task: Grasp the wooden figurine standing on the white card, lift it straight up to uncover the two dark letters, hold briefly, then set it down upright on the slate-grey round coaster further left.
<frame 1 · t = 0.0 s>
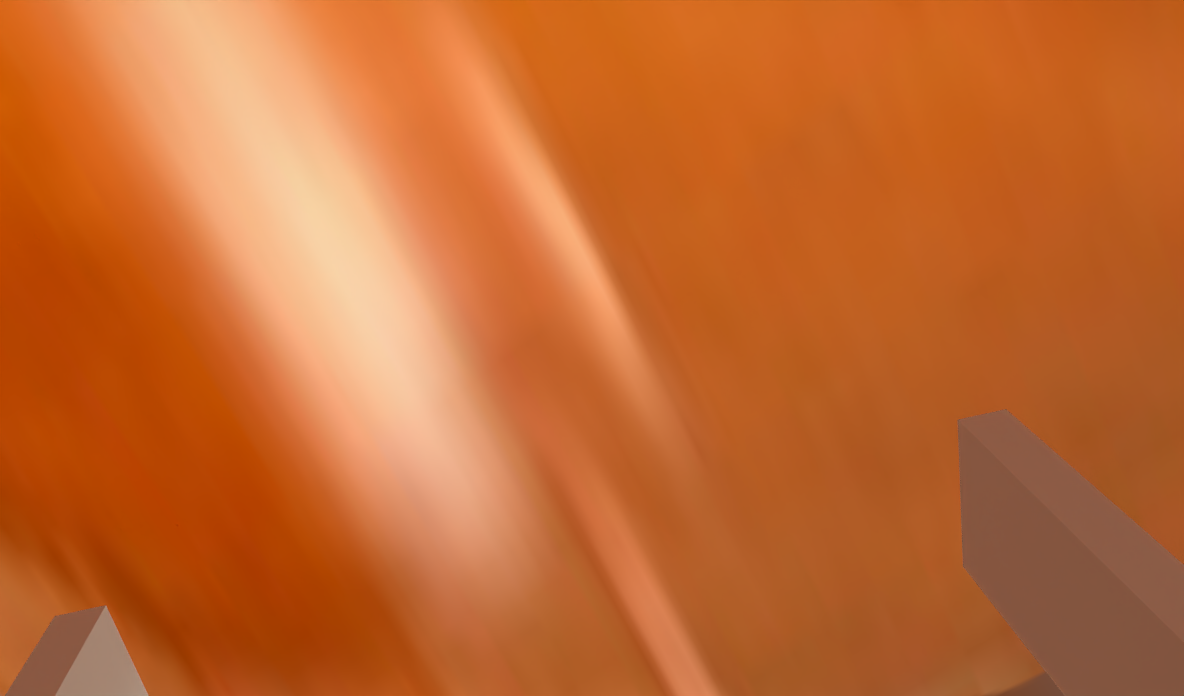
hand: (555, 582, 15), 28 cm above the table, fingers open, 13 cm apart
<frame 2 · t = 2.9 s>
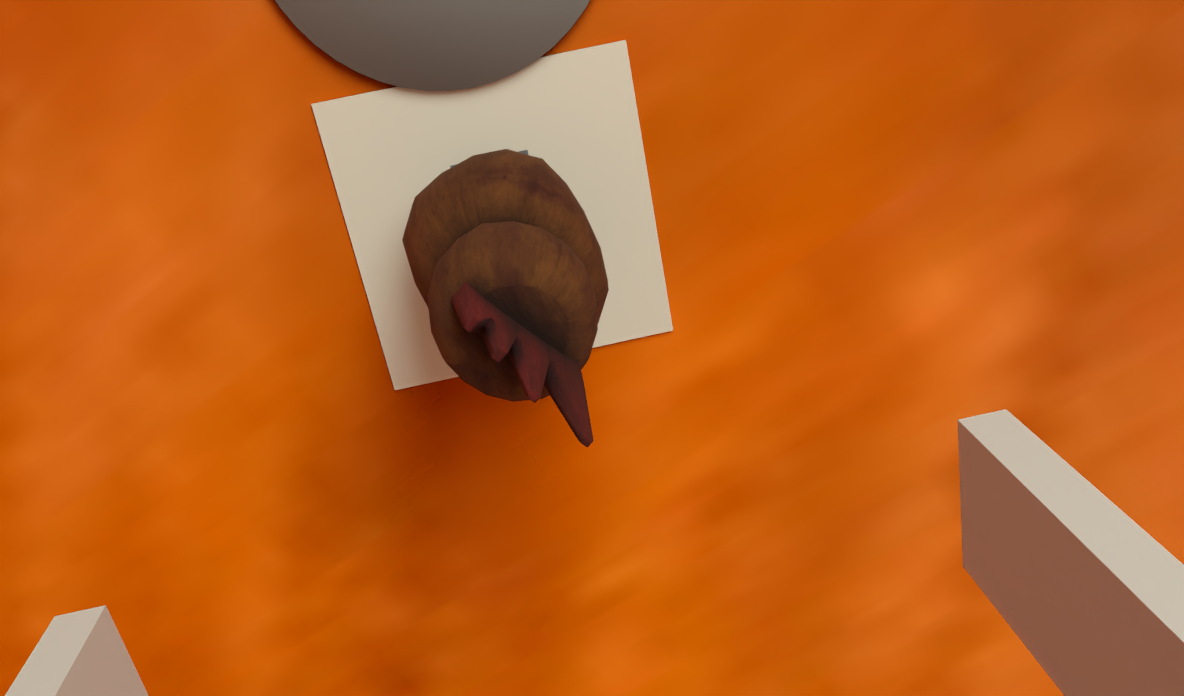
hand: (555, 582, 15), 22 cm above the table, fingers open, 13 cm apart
wooden figurine: (503, 223, 36), resting on white card
white card: (503, 224, 36), on the table
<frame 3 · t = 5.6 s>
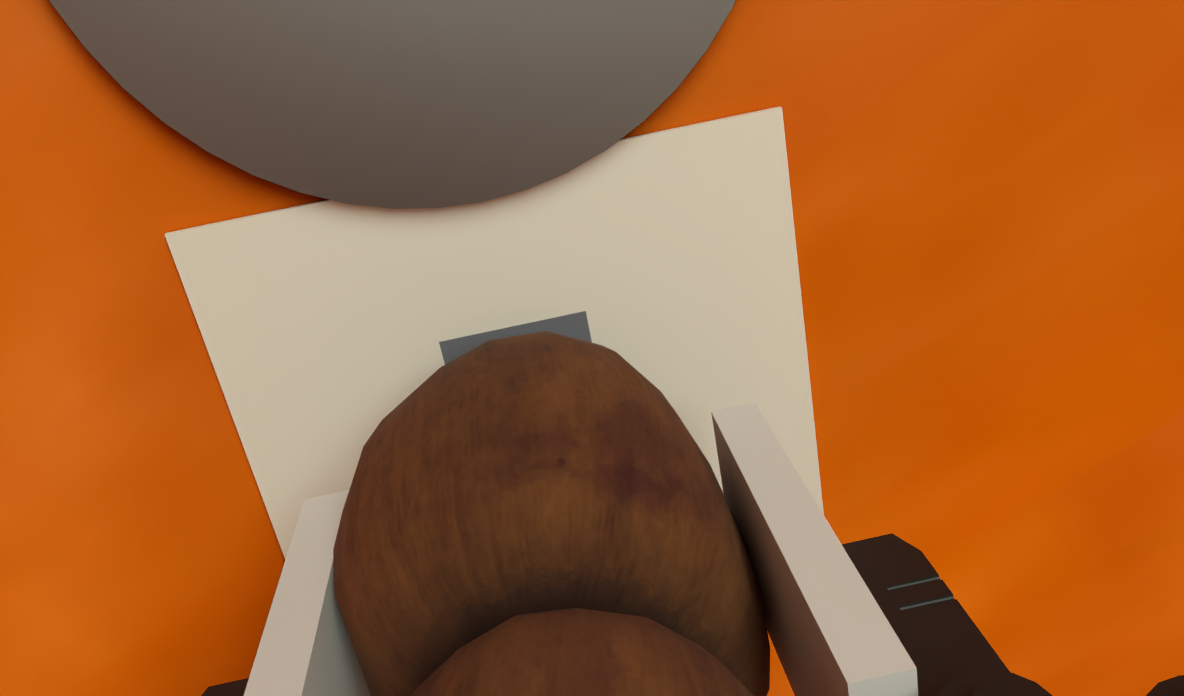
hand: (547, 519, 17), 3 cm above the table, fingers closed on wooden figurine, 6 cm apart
wooden figurine: (538, 437, 19), resting on white card, touching gripper
white card: (538, 439, 19), on the table
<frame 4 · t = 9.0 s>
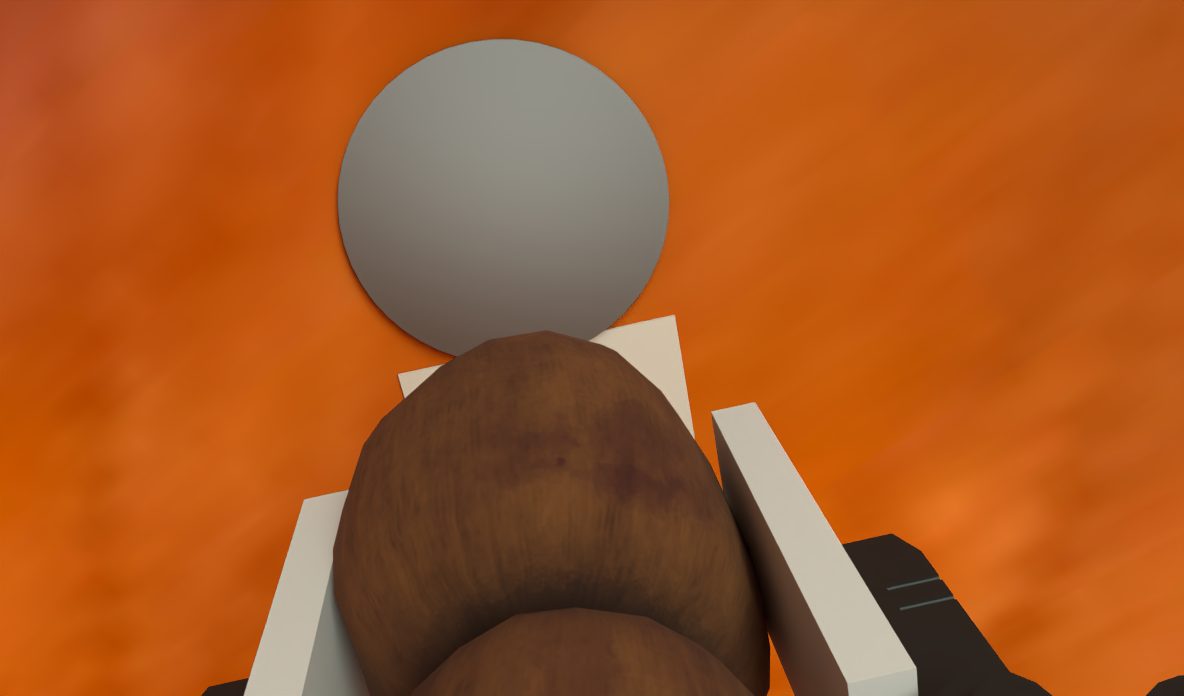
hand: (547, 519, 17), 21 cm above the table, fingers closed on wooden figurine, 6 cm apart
wooden figurine: (538, 437, 19), point 18 cm above the table, touching gripper
coaster: (506, 209, 36), on the table
white card: (564, 464, 40), on the table
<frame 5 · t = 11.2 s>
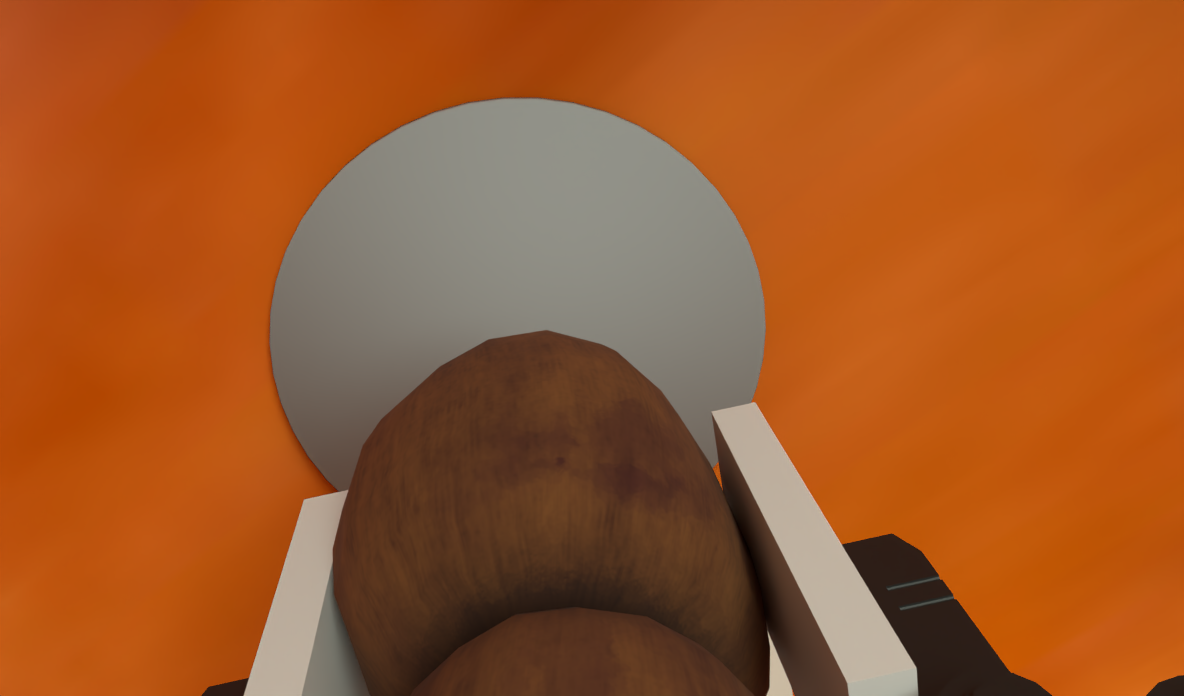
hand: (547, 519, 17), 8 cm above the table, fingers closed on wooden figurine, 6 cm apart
wooden figurine: (538, 436, 19), point 5 cm above the table, touching gripper
coaster: (523, 345, 24), on the table
white card: (602, 686, 28), on the table
when the fingers open (5 cm above the table, at t = 12.7 s): wooden figurine drops 1 cm, resting on coaster.
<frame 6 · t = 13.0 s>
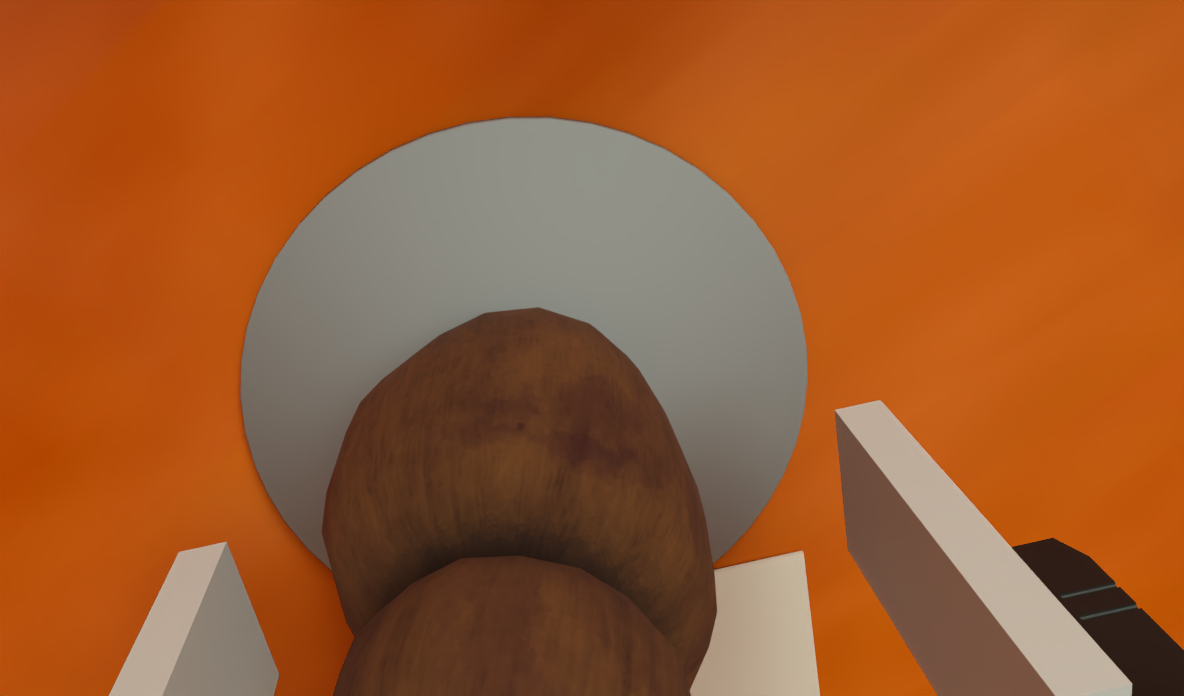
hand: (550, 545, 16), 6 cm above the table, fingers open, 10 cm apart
wooden figurine: (534, 406, 21), resting on coaster
coaster: (531, 397, 21), on the table
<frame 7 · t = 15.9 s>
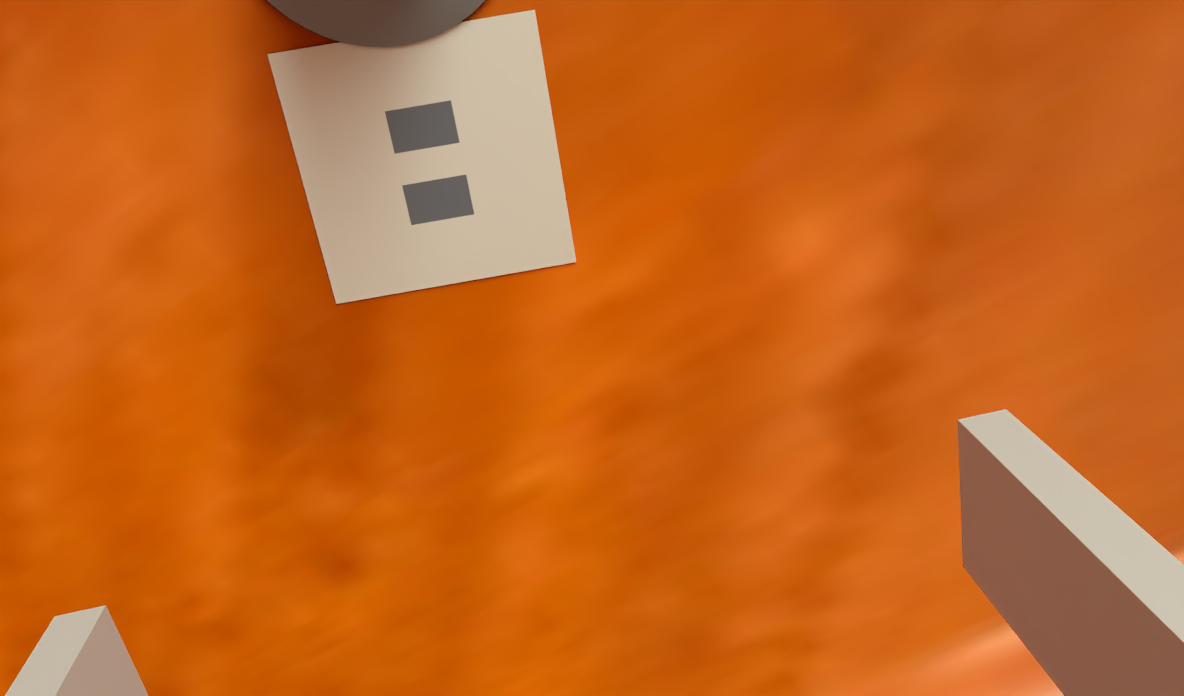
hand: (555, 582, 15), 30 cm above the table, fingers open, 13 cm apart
white card: (430, 163, 42), on the table
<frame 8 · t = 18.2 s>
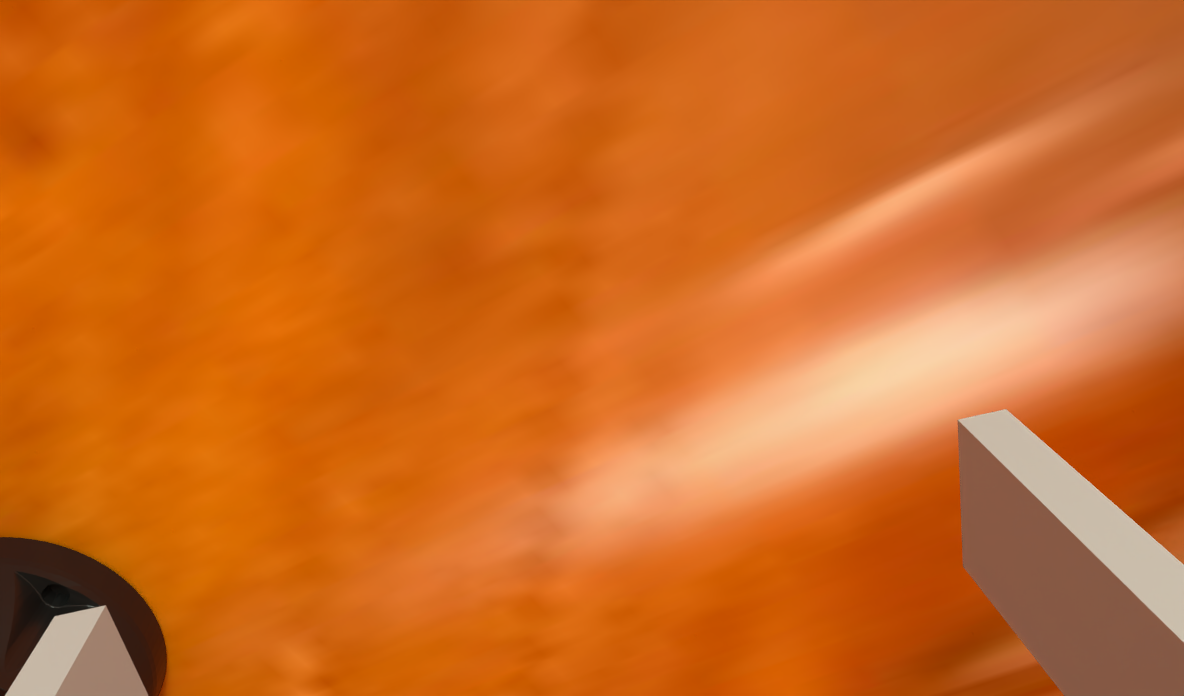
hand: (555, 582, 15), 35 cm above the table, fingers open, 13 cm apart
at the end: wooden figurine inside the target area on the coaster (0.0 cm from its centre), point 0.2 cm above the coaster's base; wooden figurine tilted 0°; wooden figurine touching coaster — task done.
